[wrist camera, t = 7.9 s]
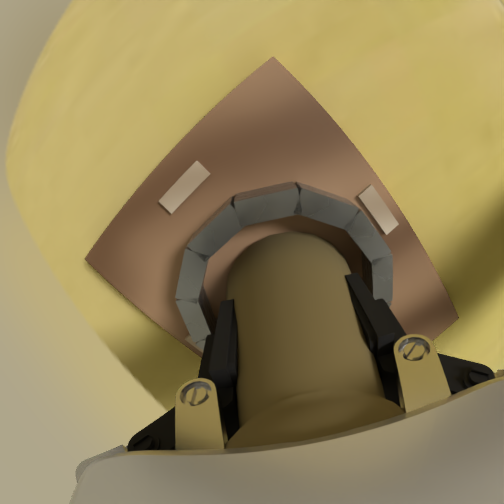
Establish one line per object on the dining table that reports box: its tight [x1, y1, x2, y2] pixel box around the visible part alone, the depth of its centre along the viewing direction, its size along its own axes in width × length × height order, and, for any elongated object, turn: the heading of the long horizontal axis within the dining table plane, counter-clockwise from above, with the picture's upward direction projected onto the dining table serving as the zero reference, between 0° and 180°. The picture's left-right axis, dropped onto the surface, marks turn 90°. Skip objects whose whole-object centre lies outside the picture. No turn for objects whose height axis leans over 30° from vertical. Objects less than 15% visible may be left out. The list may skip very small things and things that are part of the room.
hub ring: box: [175, 181, 393, 350], centre depth 13 cm, size 10×10×2 cm
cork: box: [225, 231, 405, 449], centre depth 9 cm, size 6×6×11 cm
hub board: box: [85, 57, 459, 358], centre depth 15 cm, size 18×13×1 cm
